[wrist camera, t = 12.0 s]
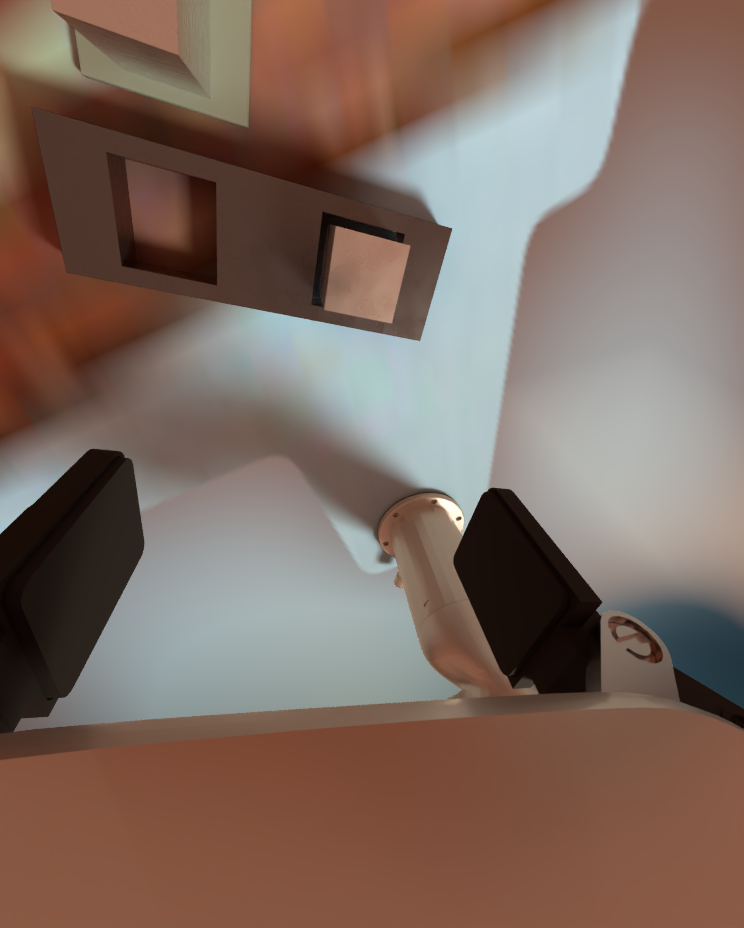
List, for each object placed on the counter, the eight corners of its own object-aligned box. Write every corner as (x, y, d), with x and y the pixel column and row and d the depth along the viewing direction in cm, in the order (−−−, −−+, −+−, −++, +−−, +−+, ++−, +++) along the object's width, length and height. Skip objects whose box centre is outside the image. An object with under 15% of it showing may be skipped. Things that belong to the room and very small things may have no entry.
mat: (248, 128, 25) (247, 127, 25) (86, 77, 23) (81, 74, 22) (252, -21, 22) (251, -27, 21) (59, -104, 19) (53, -111, 19)
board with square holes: (411, 332, 36) (420, 340, 33) (86, 268, 28) (66, 272, 26) (440, 227, 31) (452, 228, 29) (58, 118, 24) (31, 106, 21)
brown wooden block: (373, 303, 34) (391, 323, 27) (319, 291, 32) (324, 309, 26) (387, 240, 31) (410, 245, 24) (327, 224, 30) (335, 225, 23)
